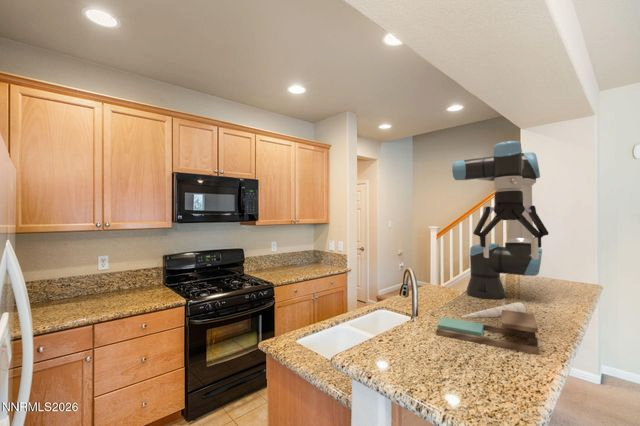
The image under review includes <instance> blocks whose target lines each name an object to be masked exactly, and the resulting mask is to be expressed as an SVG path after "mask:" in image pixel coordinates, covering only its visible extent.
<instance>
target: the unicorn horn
mask: <svg viewBox="0 0 640 426" xmlns="http://www.w3.org/2000/svg"><path fill="white" fill-rule="evenodd" d="M502 310H508V311H515V312H523V313H527V309H526V306H525V305H524V304H523V302H520V301H518V302H512V303H509V304H504V305H500V306H496V307H491V308H487V309H482V310H479V311H475V312H471V313H469V314H467V313H466V314H464V315H462V316H460V318H462V319H478V318H480V319H481V318H502Z"/></svg>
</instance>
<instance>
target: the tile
mask: <svg viewBox="0 0 640 426" xmlns="http://www.w3.org/2000/svg"><path fill="white" fill-rule="evenodd" d="M437 329H442V330H448V331H453V332H459V333H464V334H470V335H475V336H480V337H484V332H485V330H484V323H479V322H474V321H468V320H462V319H455V318H450V317H441V319H440V321H439V322H438V324H437Z"/></svg>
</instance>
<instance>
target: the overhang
mask: <svg viewBox="0 0 640 426" xmlns="http://www.w3.org/2000/svg"><path fill="white" fill-rule="evenodd" d="M483 324H484V323H483ZM484 331H487V332H493V333H499V334H505V335H510V336H515V337H522V338H526V342H527V344H524V343H518V342H517V343H516V342H513V341H507V340H501V339H497V338H490V337H485V336H483V337H480V336H475V335H470V334H464V333H459V332H453V331H448V330H442V329H438V328H437V329H436V335H437V336H442V337H445V338H450V339H451V338H452V339H458V340H460V341H461V340H462V341H465V342H466V341H467V342H472V343H477V344H482V345H487V346H492V347H498V348H503V349H506V350H514V351H518V352H523V353H528V354H534V355H538V356H539V353H540V352H539V344H538V337H537V336H536V334H538V333H539V327H538V324H537V320H536V317H535V314H534V313H530V312H526V313H523V312H515V311H508V310H502V317H501V326H497V325H491V324H484Z"/></svg>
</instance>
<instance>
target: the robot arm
mask: <svg viewBox="0 0 640 426" xmlns="http://www.w3.org/2000/svg"><path fill="white" fill-rule="evenodd" d="M452 177H453V179H454V180H455V181H471V180H480V181H489V182H494V183H493V184H494V185H493V186H494V191H495V192H494V207H492V206H484V207H483V212H482V215H481V217H480V219H479V221H478V222H477V225H476V227H475V229H474V230H473V235H474V236H478V237H479V244H474V245H471V247H470V248H469V249H470V251H469V259H470V261H469V264H470V278H469V281H468V284H467V287H466V294H467V295H468V296H471V297H474V298H478V299H486V300H501V299H505V298H506V291H505V289H504V285H503V283H502V281H501V274H505V275H514V276H515V275H517V276H528V277H536V276H538V275H539V274H540V270H541V263H542V256H543V255H542V253H543V248H542V238H543V237H544V236H549V234H550V233H549V231H548V229H547V227H546V226H545V225H544V223H543V221H542V220H541V218H540V216H539V214H538V212H537V209H536V206H535V205H533V186H534V185H535V184H536V183H537V179H539V178H540V177H541V172H540V166H539V161H538V158H537V154H536V153H534V152H531V151H529V152H523V149H522V143H521V142H520V141H518V140H508V141H507V140H506V141H502V142H499V143H496V144H495V145H494V147H493V154H492V156H486V157H479V158H471V159H470V158H469V159H461V160H456V161H454V162H453V163H452ZM493 212H494V213H495V216H494V217H493V218H492V220H491V221H490V222H489V223H488V224H487V225H486V226H485V224H486V222H487V220H488V218H489V216H490V214H492V213H493ZM500 221H508V240H507V241H505V242H504V246H500V244H499V243H496V242H495V243H489V237H487V235H488V234H489V233H490V232H491V231H492V230H493V229H494V228H495V226H496V225H497V224H499V222H500ZM534 225H535V226H534ZM484 226H485V228H484Z"/></svg>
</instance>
